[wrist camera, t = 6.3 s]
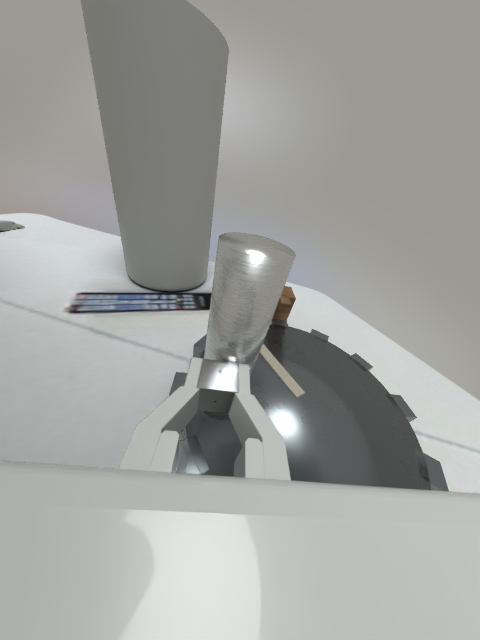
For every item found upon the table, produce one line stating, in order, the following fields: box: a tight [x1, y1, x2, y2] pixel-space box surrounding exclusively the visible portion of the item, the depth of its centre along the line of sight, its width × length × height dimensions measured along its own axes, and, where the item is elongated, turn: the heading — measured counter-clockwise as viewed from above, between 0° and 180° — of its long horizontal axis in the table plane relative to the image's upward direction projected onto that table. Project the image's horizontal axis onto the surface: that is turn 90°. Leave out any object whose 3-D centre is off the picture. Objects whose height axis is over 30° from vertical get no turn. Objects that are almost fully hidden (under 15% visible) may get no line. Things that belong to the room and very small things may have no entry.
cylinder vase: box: [81, 0, 229, 291], centre depth 25 cm, size 12×12×25 cm
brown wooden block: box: [272, 286, 296, 321], centre depth 26 cm, size 3×5×5 cm, turn 179°
